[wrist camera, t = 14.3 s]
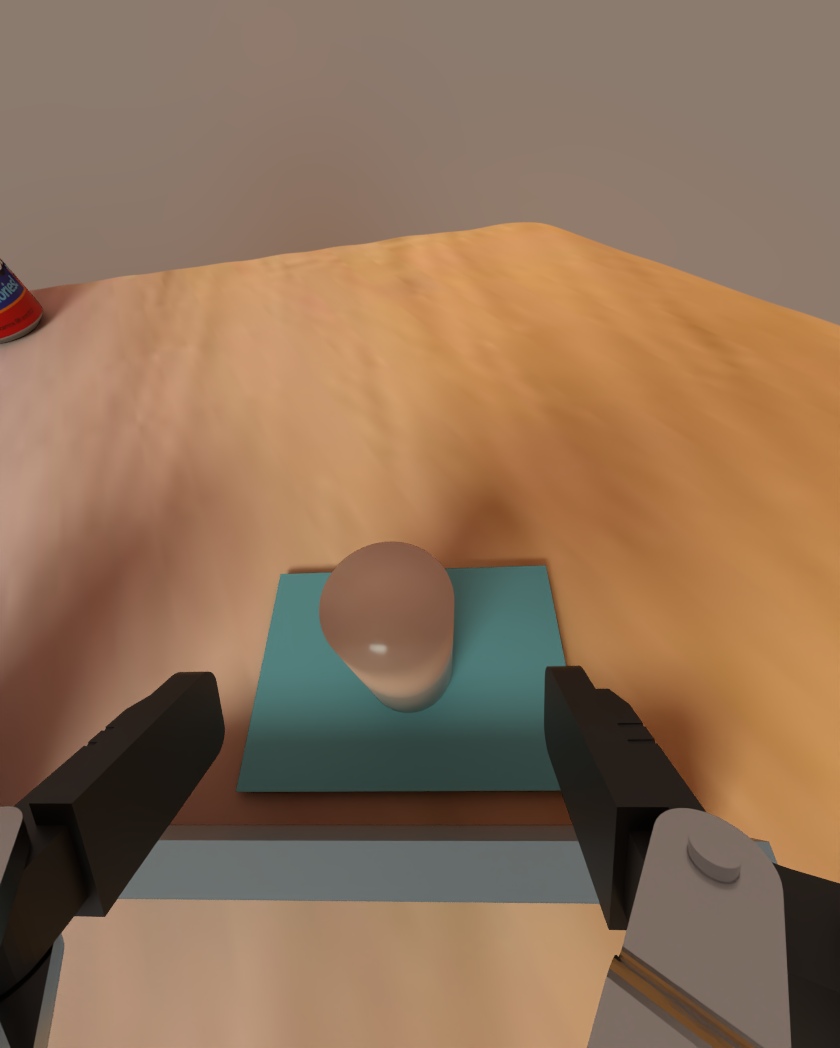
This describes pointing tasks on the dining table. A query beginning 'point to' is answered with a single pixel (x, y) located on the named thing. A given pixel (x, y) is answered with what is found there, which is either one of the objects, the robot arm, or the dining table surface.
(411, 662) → the tan domed capsule
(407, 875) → the low wall
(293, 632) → the teal mat
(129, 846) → the robot arm
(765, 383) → the dining table surface
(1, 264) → the soda can
